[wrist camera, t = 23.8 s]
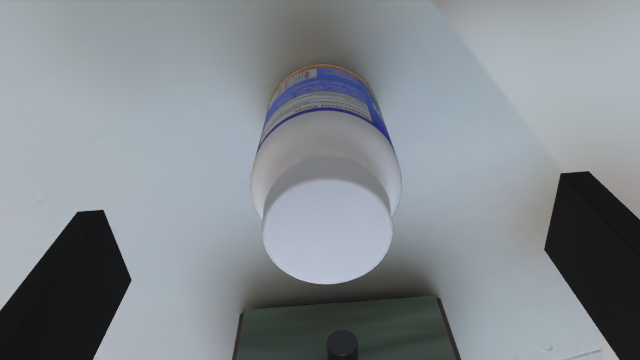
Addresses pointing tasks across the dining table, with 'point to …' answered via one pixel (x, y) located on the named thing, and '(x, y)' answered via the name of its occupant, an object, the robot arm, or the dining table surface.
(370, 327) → the drawer
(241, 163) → the dining table surface
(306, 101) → the pill bottle
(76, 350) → the robot arm
